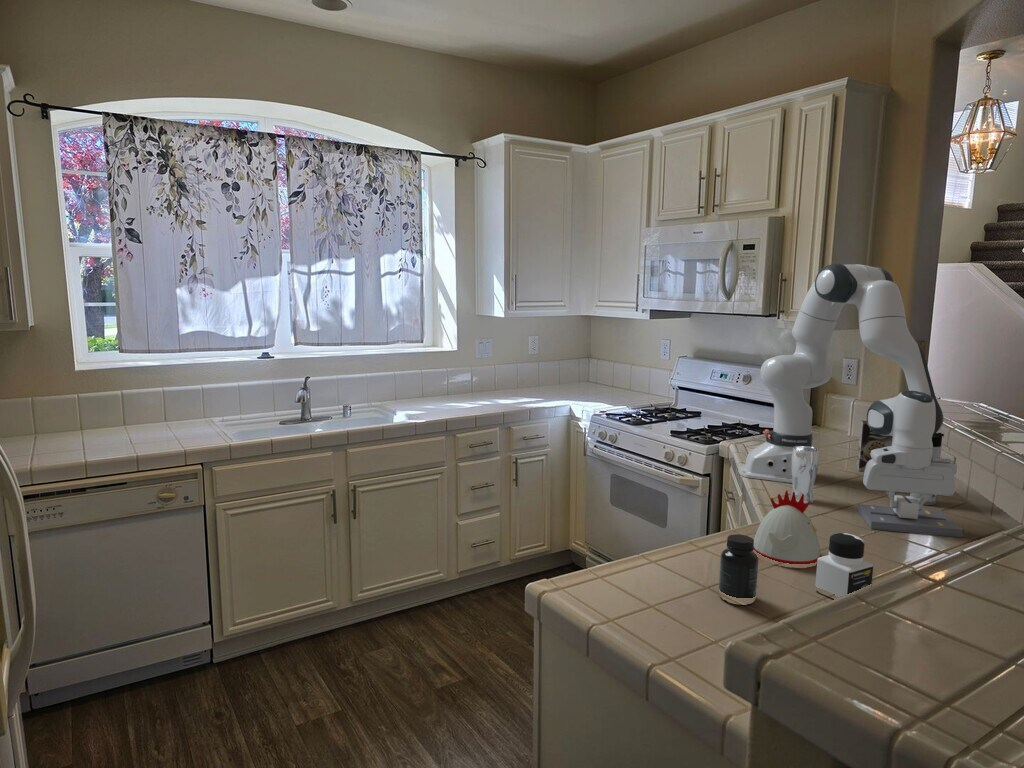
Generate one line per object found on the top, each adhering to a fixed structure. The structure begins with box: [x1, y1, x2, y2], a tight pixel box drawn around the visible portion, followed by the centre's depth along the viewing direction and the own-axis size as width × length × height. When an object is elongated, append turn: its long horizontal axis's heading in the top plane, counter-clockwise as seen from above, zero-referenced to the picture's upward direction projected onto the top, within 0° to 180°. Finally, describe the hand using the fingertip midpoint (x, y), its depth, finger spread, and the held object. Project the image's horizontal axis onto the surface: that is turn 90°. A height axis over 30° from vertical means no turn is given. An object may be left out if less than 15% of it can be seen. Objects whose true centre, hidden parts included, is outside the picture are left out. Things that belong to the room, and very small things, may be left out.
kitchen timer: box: [753, 490, 821, 564], centre depth 148 cm, size 14×14×15 cm
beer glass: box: [789, 446, 820, 504], centre depth 188 cm, size 7×7×15 cm
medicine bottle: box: [814, 532, 874, 597], centre depth 129 cm, size 7×7×12 cm
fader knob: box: [893, 494, 919, 519], centre depth 170 cm, size 4×6×4 cm, turn 165°
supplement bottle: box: [718, 533, 759, 598], centre depth 128 cm, size 7×7×12 cm
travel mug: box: [909, 432, 945, 506], centre depth 187 cm, size 6×7×20 cm
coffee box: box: [856, 420, 893, 472], centre depth 220 cm, size 9×6×16 cm
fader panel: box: [856, 503, 963, 538], centre depth 171 cm, size 20×14×2 cm
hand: (905, 508), depth 170 cm, fingers closed on fader knob, 4 cm apart
